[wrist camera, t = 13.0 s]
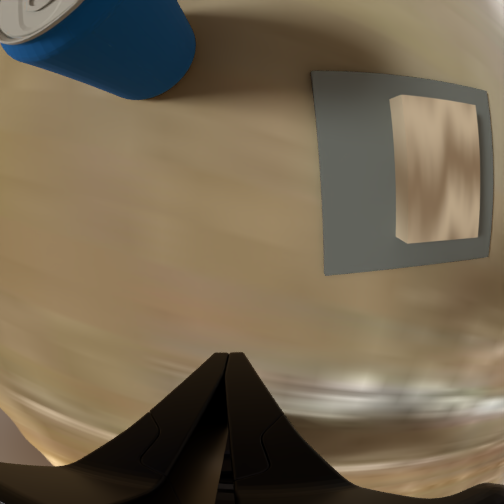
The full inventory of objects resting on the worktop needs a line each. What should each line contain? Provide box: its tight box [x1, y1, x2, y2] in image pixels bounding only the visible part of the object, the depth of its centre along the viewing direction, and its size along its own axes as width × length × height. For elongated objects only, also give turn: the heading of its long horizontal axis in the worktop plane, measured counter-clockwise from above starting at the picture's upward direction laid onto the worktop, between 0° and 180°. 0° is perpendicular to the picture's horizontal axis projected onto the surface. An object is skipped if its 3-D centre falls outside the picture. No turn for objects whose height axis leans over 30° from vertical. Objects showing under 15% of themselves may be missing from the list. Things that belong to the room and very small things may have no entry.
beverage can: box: [0, 0, 196, 100], centre depth 11 cm, size 6×6×12 cm
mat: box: [311, 71, 493, 276], centre depth 18 cm, size 13×14×1 cm
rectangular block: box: [389, 95, 480, 244], centre depth 17 cm, size 9×2×6 cm
